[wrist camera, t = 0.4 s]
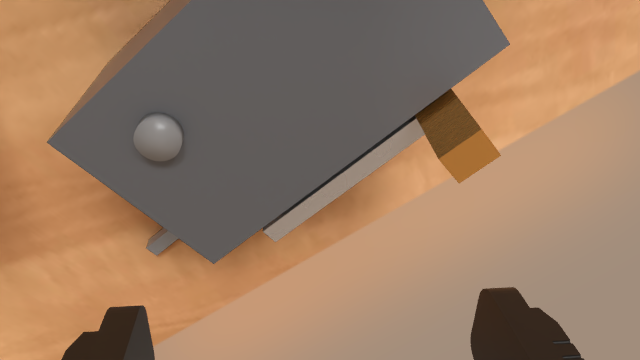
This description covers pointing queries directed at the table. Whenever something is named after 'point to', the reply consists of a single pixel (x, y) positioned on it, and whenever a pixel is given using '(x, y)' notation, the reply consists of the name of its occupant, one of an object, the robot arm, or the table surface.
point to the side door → (433, 121)
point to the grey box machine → (262, 103)
